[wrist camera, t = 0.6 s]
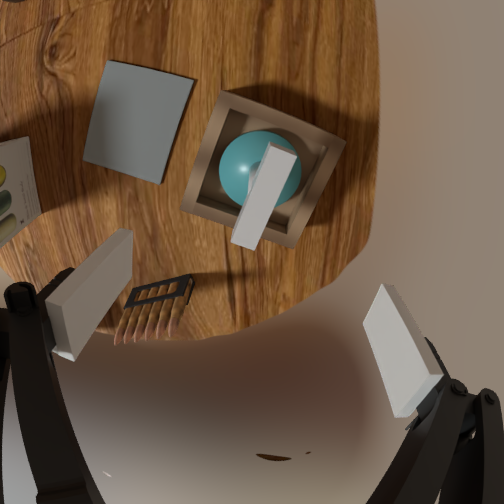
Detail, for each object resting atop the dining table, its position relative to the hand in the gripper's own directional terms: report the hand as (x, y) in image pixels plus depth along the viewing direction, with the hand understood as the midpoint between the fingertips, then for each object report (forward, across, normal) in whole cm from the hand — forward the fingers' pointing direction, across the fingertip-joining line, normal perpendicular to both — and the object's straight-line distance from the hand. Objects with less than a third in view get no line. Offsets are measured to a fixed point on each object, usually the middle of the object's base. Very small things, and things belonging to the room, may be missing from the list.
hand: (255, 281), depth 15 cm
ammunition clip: (+26, -12, -20) cm, 34 cm away
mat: (+23, -18, +5) cm, 30 cm away
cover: (+22, -1, +2) cm, 22 cm away
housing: (+24, -1, +2) cm, 25 cm away
